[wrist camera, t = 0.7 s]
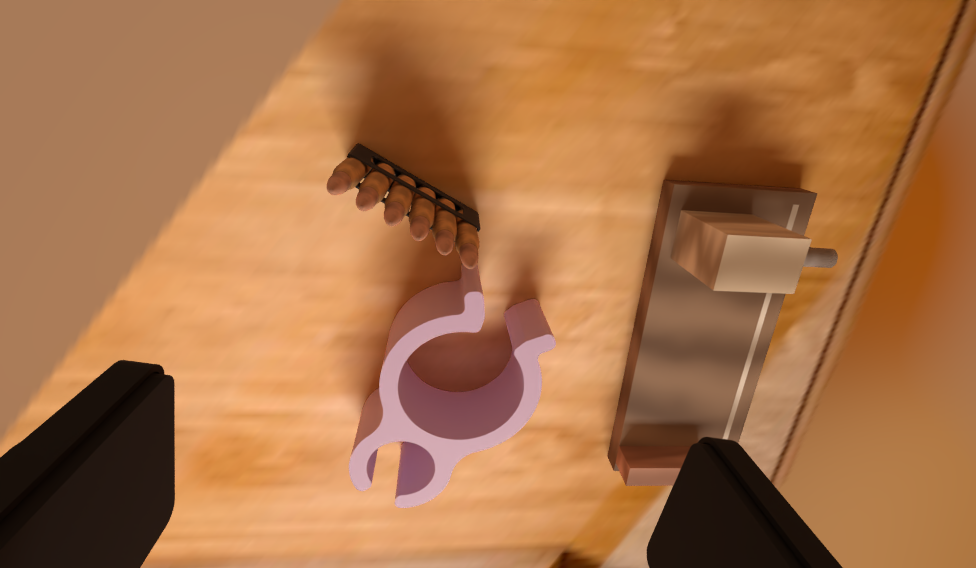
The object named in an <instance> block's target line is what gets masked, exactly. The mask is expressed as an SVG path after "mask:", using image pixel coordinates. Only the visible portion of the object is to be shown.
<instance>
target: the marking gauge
mask: <svg viewBox="0 0 976 568" xmlns="http://www.w3.org/2000/svg"><path fill="white" fill-rule="evenodd" d="M811 240H812V239H810V238H807V237H805V236H803V235H800V234H798V233H795V232H793V231H791V230H788V229H786V228H783V227H781V226H779V225H776V224H774V223H771V222H769V221H767V220H764V219H762V218H759V217H757V216H755V215H752V214H735V213H718V212H701V211H684V210H681V213H680V218H679V222H678V227H677V231H676V236H675V240H674V245H673V249H672V254H671V259H672V260H674V261H675V262H676V263H678V264H679V265H680V266H681V267H683V268H684V269H685V270H687V271H688V272H689V273H691V274H692V275H693V276H695V277H696V278H697V279H699V280H700V281H701V282H703V283H704V284H705V285H707V286H708V287H709V288H711V289H712V290H713V291H733V292H758V293H783V294H794V292H795V289H796V286H797V283H798V280H799V277H800V274H801V271H802V268H803V266H805V267H827V268H831V267H833V266H834V265H835V264H836V262H837V259H838V256H837V253H836V251H835V250H834V249H825V248H811V247H809V246H810V243H811Z"/></svg>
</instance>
